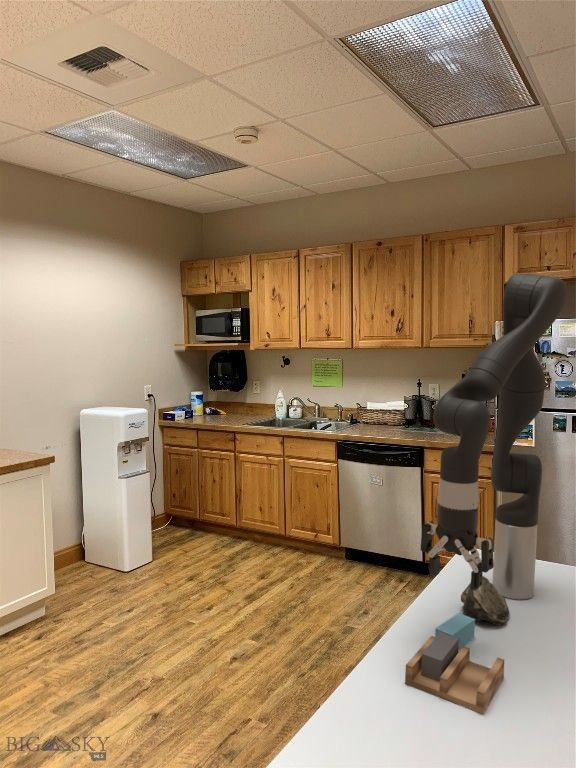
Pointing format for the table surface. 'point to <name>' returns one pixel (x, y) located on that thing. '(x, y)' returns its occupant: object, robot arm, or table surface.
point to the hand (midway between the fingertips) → (454, 581)
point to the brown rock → (485, 603)
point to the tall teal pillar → (458, 628)
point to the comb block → (458, 679)
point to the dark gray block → (439, 656)
